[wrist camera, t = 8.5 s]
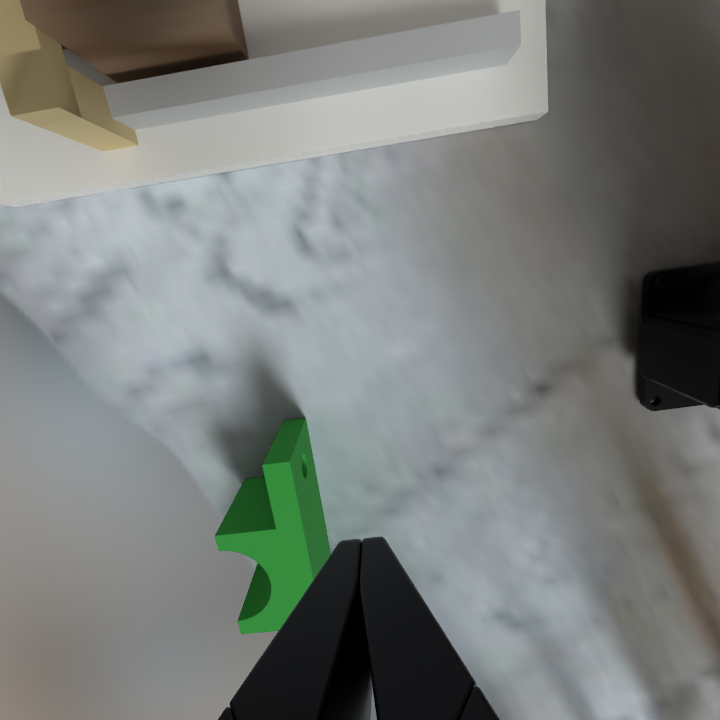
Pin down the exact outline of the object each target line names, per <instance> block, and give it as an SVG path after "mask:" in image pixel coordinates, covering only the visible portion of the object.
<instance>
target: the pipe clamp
mask: <svg viewBox="0 0 720 720" xmlns="http://www.w3.org/2000/svg"><path fill="white" fill-rule="evenodd" d="M262 467H263V472H264V476H265V477H259V478H251V479H245V480H244V482H243V484H242V486H241V488H240V490H239V492H238V493H237V495H236V497H235V499H234V501H233V503H232V505H231V507H230V508H229V510H228V512H227V514H226V516H225V518H224V520H223V522H222V523H221V525H220V527H219V529H218V531H217V533H216V535H215V538H216V542H217V546H218V550H219V551H223V550H225V551H234V552H238V553H242V554H244V555H247V556H249V557H250V558H252V559H254V560H255V561H256V562H258V564H257V567H256V570H255V573H254V576H253V578H252V582H251V584H250V587H249V590H248V593H247V596H246V599H245V602H244V604H243V607H242V610H241V613H240V616H239V619H238V624H239V628H240V632H241V634H248V633H257V632H258V633H259V632H269V631H279V630H280V628H281V627H282V625H283V624H284V622H285V621H286V620H287V618H288V617H289V615H290V614H291V612H292V611H293V609H294V608H295V606H296V605H297V603H298V602H299V600H300V599H301V598H302V596H303V595H304V593H305V592H306V590H307V589H308V587H309V586H310V584H311V583H312V581H313V580H314V579H315V577H316V576H317V574H318V573H319V571H320V570H321V568H322V567H323V565H324V564H325V562H326V561H327V559H328V558H329V557H330V555H331V553H330V547H329V542H328V536H327V531H326V525H325V520H324V514H323V509H322V504H321V498H320V493H319V487H318V482H317V476H316V471H315V465H314V460H313V455H312V449H311V444H310V438H309V433H308V427H307V422H306V418H301V419H292V420H284V421H283V423H282V425H281V427H280V429H279V431H278V433H277V435H276V437H275V439H274V441H273V443H272V446H271V448H270V450H269V452H268V454H267V456H266V458H265V460H264V462H263V464H262Z"/></svg>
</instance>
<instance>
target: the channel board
mask: <svg viewBox="0 0 720 720" xmlns="http://www.w3.org/2000/svg"><path fill="white" fill-rule="evenodd" d="M238 3H239V9H240V14H241V19H242V25H243V30H244V35H245V40H246V46H247V51H248V56H249V60H244V61H238V62H233V63H227V64H222V65H216V66H211V67H205V68H200V69H195V70H189V71H184V72H178V73H173V74H167V75H162V76H156V77H151V78H145V79H140V80H134V81H129V82H123V83H117V82H115V81H114V80H112V79H111V78H110V77H108V76H107V75H105V74H104V73H102V72H101V71H99V70H98V69H96V68H95V67H94V66H92V65H91V64H89V63H88V62H86V61H85V60H83V59H82V58H80V57H79V56H77V55H76V54H75V53H73V52H72V51H70V50H69V49H63V50H62V47H61V44H60V43H58V42H57V41H56V40H54V39H53V38H51V37H50V36H48V35H47V34H45V33H44V32H42V31H41V30H39V29H38V28H37V27H35V26H34V25H32V24H31V23H29V22H28V21H26V19H25V16H24V13H23V10H22V6H21V3H20V0H0V205H5V206H12V207H21V206H27V205H33V204H39V203H45V202H51V201H57V200H63V199H69V198H75V197H81V196H87V195H93V194H99V193H105V192H111V191H117V190H123V189H129V188H135V187H140V186H146V185H152V184H158V183H164V182H170V181H176V180H182V179H188V178H194V177H200V176H206V175H212V174H218V173H224V172H230V171H236V170H242V169H248V168H254V167H260V166H266V165H272V164H278V163H283V162H289V161H295V160H301V159H307V158H313V157H319V156H325V155H331V154H337V153H343V152H349V151H355V150H361V149H367V148H373V147H379V146H385V145H391V144H397V143H403V142H409V141H415V140H421V139H427V138H432V137H438V136H444V135H450V134H456V133H462V132H468V131H474V130H480V129H486V128H492V127H498V126H504V125H510V124H516V123H522V122H528V121H534V120H538V119H539V118H541V117H542V116H543V115H544V114H546V113H547V112H548V80H547V43H546V6H545V0H238Z"/></svg>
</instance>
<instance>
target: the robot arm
mask: <svg viewBox="0 0 720 720" xmlns="http://www.w3.org/2000/svg"><path fill="white" fill-rule="evenodd" d="M658 277H659V278H660V284H659V285H658V286H657V287H656V286H655V280H656V279H657V278H658ZM638 372H639V374H640V397H639V400H640V403H641V405H642V406H644V407H645V408H647V409H649V410H651V411H658V410H666V409H674V408H682V407H690V406H698V405H706V406H709V407H712V408H718V409H720V261H715V262H708V263H701V264H694V265H688V266H681V267H674V268H667V269H660V270H654V271H651V272H649V273H648V274H647V275H646V276H645V278H644V280H643V293H642V320H641V322H640V331H639V367H638ZM654 396H656V398H655V400H654V401H653V402H650V401H651V399H652V398H653V397H654ZM372 687H373V694H374V701H375V708H376V715H377V720H500V719H499V717H498V716H497V714H496V713H495V711H494V710H493V708H492V707H491V705H490V704H489V702H488V700H487V699H486V697H485V696H484V694H483V693H482V691H481V689H480V688H479V687H477V686H476V682H475V680H474V679H473V677H472V676H471V674H470V673H469V671H468V669H467V668H466V666H465V665H464V663H463V661H462V660H461V658H460V657H459V655H458V654H457V652H456V650H455V649H454V647H453V646H452V644H451V642H450V641H449V639H448V638H447V636H446V635H445V633H444V631H443V630H442V628H441V627H440V625H439V624H438V622H437V620H436V619H435V617H434V616H433V614H432V612H431V611H430V609H429V608H428V606H427V605H426V603H425V601H424V600H423V598H422V597H421V595H420V594H419V592H418V590H417V589H416V587H415V586H414V584H413V582H412V581H411V579H410V578H409V576H408V575H407V573H406V571H405V570H404V568H403V567H402V565H401V564H400V562H399V560H398V559H397V557H396V556H395V554H394V552H393V551H392V549H391V548H390V546H389V545H388V543H387V541H386V540H385V539H384V538H383V537H372V538H365V539H363V541H361V540H360V539H352V540H343V541H341V542H339V543H338V545H337V546H336V548H335V549H334V551H333V552H332V554H331V555H330V557H329V558H328V559H327V561H326V562H325V564H324V565H323V567H322V568H321V570H320V571H319V573H318V574H317V576H316V577H315V579H314V580H313V581H312V583H311V584H310V586H309V587H308V589H307V590H306V592H305V593H304V595H303V596H302V598H301V599H300V600H299V602H298V603H297V605H296V606H295V608H294V609H293V611H292V612H291V614H290V615H289V617H288V618H287V620H286V621H285V622H284V624H283V625H282V627H281V628H280V630H279V631H278V633H277V634H276V636H275V637H274V639H273V640H272V642H271V643H270V645H269V646H268V647H267V649H266V650H265V652H264V653H263V655H262V656H261V658H260V659H259V661H258V662H257V664H256V665H255V667H254V668H253V669H252V671H251V672H250V674H249V675H248V677H247V678H246V680H245V681H244V683H243V684H242V685H241V687H240V689H239V690H238V691H237V693H236V694H235V696H234V697H233V699H232V700H231V702H230V707H231V708H230V707H227V708H226V709H225V710H224V711H223V713H222V715H221V716H220V717H219V719H218V720H370V714H371V696H372Z"/></svg>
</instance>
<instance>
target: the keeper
mask: <svg viewBox="0 0 720 720" xmlns="http://www.w3.org/2000/svg"><path fill="white" fill-rule="evenodd" d="M20 3H21V6H22V10H23V13H24V16H25V19H26V21H28V22H29V23H31V24H32V25H34V26H35V27H37V28H38V29H39V30H41V31H42V32H44V33H45V34H47V35H48V36H50V37H51V38H53V39H54V40H56V41H57V42H58V43H60V44H61V45H63V46H64V47H66V48H67V49H69V50H70V51H72V52H73V53H75V54H76V55H77V56H79V57H80V58H82V59H83V60H85V61H86V62H88V63H89V64H91V65H92V66H94V67H95V68H96V69H98V70H99V71H101V72H102V73H104V74H105V75H107V76H108V77H110V78H111V79H112V80H114V81H115V82H117V83H123V82H129V81H134V80H140V79H145V78H151V77H156V76H162V75H167V74H173V73H178V72H184V71H189V70H195V69H200V68H205V67H211V66H216V65H222V64H227V63H233V62H238V61H244V60H249V56H248V51H247V46H246V40H245V35H244V30H243V25H242V19H241V14H240V9H239V3H238V0H20Z"/></svg>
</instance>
